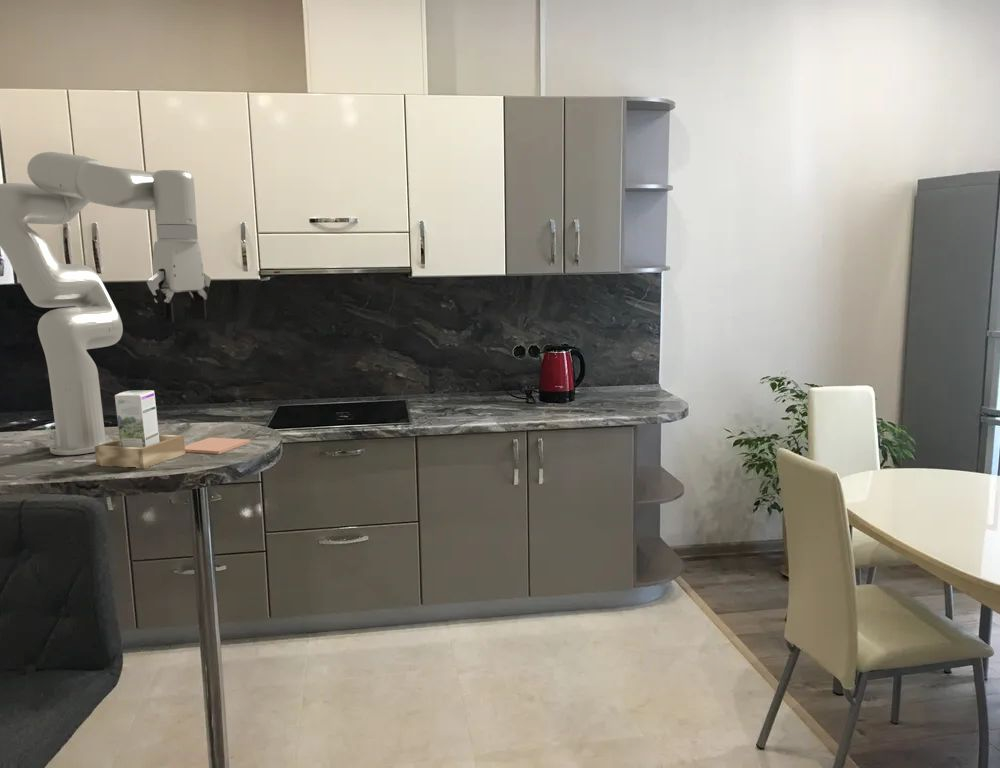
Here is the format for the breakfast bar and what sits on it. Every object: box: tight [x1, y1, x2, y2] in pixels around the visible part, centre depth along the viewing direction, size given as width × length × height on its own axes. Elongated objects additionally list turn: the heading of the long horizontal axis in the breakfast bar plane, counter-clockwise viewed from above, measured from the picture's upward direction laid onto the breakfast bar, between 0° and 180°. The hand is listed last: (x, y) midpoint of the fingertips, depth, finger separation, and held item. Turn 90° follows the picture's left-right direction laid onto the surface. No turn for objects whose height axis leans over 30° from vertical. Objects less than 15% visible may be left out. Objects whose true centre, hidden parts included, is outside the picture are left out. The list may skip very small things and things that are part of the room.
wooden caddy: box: [94, 434, 186, 469], centre depth 161 cm, size 12×12×4 cm
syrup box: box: [114, 390, 160, 448], centre depth 160 cm, size 6×6×14 cm
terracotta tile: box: [184, 437, 251, 455], centre depth 171 cm, size 11×11×1 cm
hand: (183, 320), depth 155 cm, fingers open, 9 cm apart
